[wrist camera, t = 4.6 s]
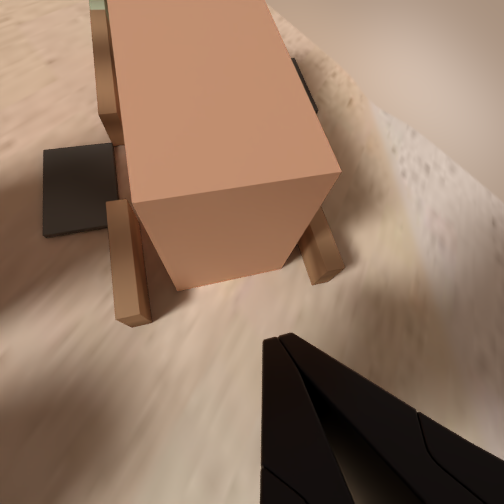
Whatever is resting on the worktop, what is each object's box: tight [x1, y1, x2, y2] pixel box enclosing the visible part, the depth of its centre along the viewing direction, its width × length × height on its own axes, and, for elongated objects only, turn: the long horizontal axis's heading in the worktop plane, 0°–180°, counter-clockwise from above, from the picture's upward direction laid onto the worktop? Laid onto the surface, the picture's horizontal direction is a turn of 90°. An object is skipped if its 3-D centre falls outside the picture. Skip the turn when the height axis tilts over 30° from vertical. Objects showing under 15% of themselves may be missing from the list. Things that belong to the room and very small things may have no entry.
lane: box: [43, 0, 345, 327], centre depth 19 cm, size 26×19×3 cm
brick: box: [107, 0, 342, 291], centre depth 15 cm, size 15×6×9 cm, turn 15°
